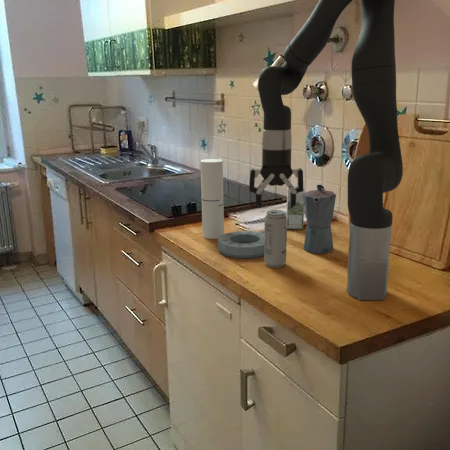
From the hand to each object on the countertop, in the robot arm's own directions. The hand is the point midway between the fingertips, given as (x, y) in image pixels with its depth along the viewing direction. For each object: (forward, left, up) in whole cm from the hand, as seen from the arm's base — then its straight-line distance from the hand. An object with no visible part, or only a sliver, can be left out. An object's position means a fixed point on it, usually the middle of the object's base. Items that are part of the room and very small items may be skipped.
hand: (275, 207), depth 135 cm
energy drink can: (0, 0, -17) cm, 17 cm away
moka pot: (+13, -14, -17) cm, 25 cm away
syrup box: (+36, -10, -17) cm, 41 cm away
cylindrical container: (+28, +18, -17) cm, 37 cm away
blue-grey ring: (+13, +8, -16) cm, 22 cm away
